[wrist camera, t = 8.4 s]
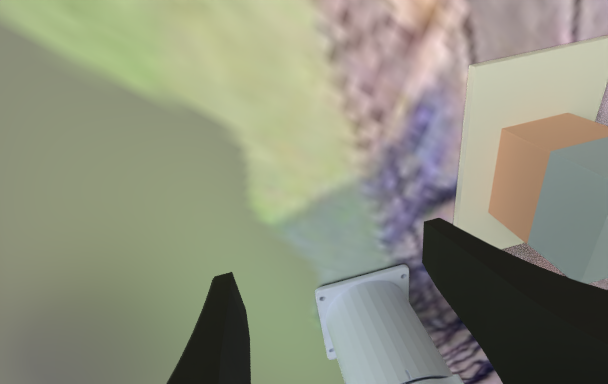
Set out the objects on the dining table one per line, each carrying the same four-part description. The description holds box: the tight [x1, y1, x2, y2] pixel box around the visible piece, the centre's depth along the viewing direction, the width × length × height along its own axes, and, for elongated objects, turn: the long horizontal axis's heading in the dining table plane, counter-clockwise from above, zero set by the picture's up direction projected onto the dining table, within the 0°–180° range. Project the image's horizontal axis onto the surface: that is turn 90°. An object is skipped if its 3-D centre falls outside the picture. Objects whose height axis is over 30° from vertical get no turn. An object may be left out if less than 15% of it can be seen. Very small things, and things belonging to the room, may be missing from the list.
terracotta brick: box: [488, 113, 608, 244], centre depth 23 cm, size 7×5×4 cm
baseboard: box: [453, 35, 608, 249], centre depth 25 cm, size 16×10×1 cm, turn 9°
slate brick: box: [527, 137, 608, 284], centre depth 20 cm, size 7×5×4 cm
